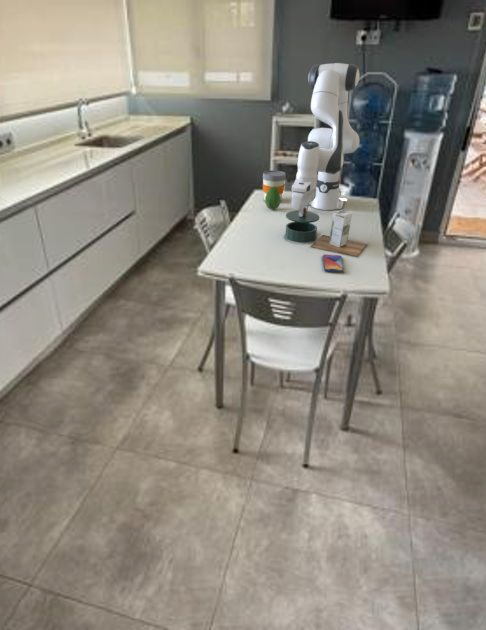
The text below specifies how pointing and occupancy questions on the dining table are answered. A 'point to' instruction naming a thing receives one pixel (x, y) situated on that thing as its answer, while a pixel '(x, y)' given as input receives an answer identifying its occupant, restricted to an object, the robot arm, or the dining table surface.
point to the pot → (301, 232)
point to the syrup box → (340, 228)
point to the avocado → (272, 198)
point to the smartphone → (333, 263)
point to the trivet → (348, 249)
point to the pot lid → (306, 218)
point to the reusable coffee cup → (273, 181)
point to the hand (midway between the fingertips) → (302, 214)
